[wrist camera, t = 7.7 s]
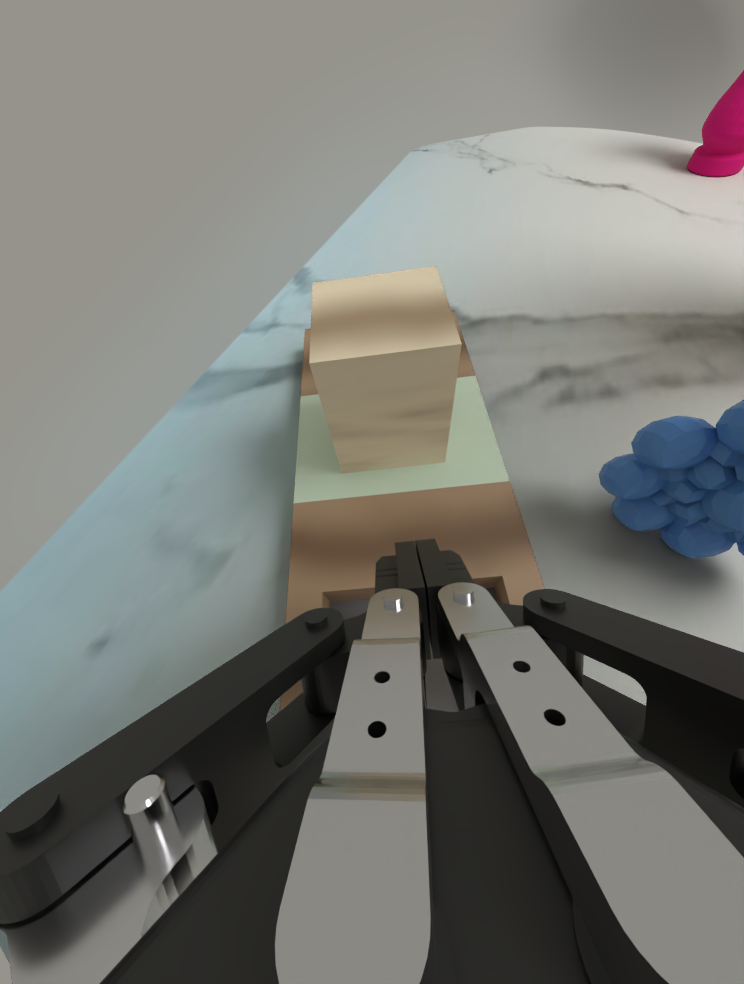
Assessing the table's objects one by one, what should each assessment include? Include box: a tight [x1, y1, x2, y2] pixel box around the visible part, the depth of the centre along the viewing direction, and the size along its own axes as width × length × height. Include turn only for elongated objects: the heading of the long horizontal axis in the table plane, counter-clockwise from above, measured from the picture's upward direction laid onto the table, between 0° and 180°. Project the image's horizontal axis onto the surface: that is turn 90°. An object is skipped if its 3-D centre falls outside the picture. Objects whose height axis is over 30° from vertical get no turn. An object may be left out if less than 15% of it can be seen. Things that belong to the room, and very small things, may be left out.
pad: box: [294, 376, 509, 503], centre depth 26 cm, size 10×14×2 cm
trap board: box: [280, 310, 545, 712], centre depth 25 cm, size 32×14×2 cm, turn 4°
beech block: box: [309, 266, 462, 474], centre depth 22 cm, size 7×7×9 cm
